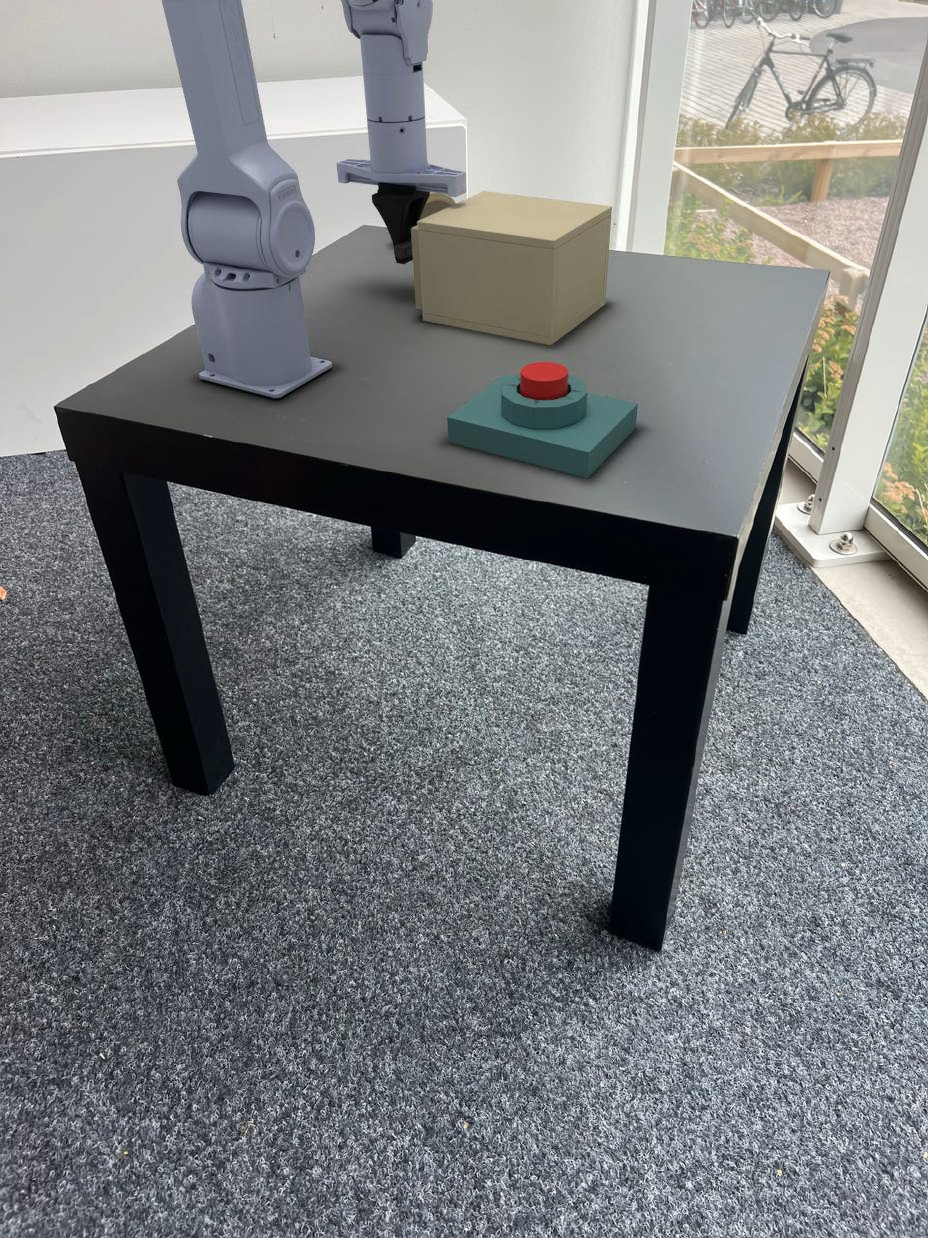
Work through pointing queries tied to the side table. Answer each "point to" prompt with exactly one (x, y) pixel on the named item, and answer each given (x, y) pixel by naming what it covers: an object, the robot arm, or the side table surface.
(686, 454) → the side table surface
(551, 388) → the button
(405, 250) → the pulled-out drawer
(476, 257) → the tan drawer box
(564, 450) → the panel
